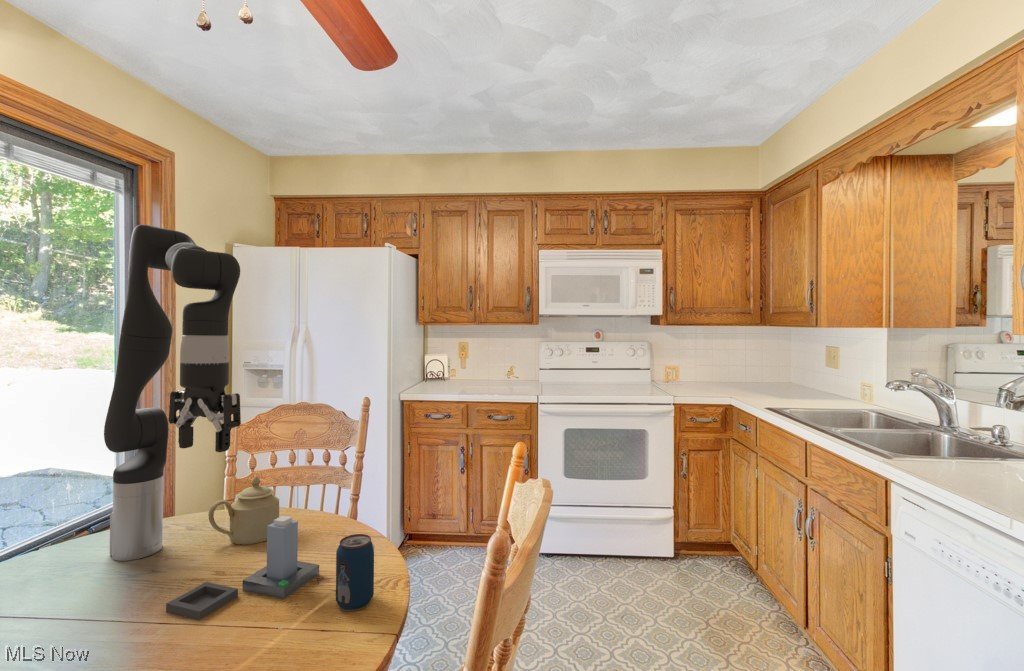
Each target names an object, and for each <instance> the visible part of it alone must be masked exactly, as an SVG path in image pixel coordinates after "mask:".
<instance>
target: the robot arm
mask: <svg viewBox="0 0 1024 671" xmlns="http://www.w3.org/2000/svg"><path fill="white" fill-rule="evenodd" d="M129 242H130V243H129V253H128V274H127V275H128V276H127V289H126V300H125V305H124V310H123V317H122V322H121V329H120V336H119V342H118V352H117V353H118V354H117V364H116V370H115V371H116V373H115V375H114V376H115V378H114V383H113V388H112V392H111V397H110V401H109V404H108V409H107V413H106V417H105V422H104V429H103V439H104V444H105V446H106V448H107V449H108V450H109V451H110V452H112V453H118V454H119V453H125V452H130V451H136V450H138V451H137V452H136V453H135V454H134V455H133V456H132V457H131V458H130V459H128V460H127V461H125V462H123V463H122V464H119V465H118V466H116V468H115V469H114V470H113V472H112V473H113V474H112V512H111V513H110V515H109V555H110V556H111V558H112V560H114V561H119V562H120V561H121V562H122V561H123V562H124V561H133V560H139V559H143V558H147V557H149V556H151V555H154V554H156V553H158V552H159V551H160V550H162V548H163V534H164V533H163V531H164V530H163V528H164V527H163V526H164V525H163V524H164V521H163V520H164V513H163V512H164V470H165V469H164V468H165V466H166V465H167V464H166V463H167V455H168V454H167V453H168V443H169V431H170V430H169V425H172V424H174V425H175V426H176V428H178V438H177V439H178V441H177V442H178V446H179V447H178V448H180V449H188V448H191V447H193V446H194V426H193V425H194V423H195V421H196V419H198V418H199V417H202V418H207V420H208V422H210V423H212V425H213V426H214V428H215V429H216V431H215V442H214V443H215V446H214V447H215V448H214V450H215V452H216V453H222V452H227V451H228V450H229V448H230V447H231V430H232V429H233V428H238V427H240V426H241V424H242V423H241V417H242V416H241V398H240V397H241V395H240V393H238V392H236V393H229V394H226V391H225V389H226V386H228V385H229V384H230V342H229V315H230V309H231V308H230V307H231V304H232V302H233V297H234V294H235V291H236V289H237V286H238V283H239V280H240V277H241V266H240V263H239V261H238V259H237V258H236V257H235V256H234V255H232V254H231V253H227V252H219V251H211V250H206V249H205V248H203V247H201V246H199V245H197V244H196V242H195V241H194V240H193V238H192V237H191V236H189V235H188V234H186V233H184V232H182V231H178V230H173V229H169V228H164V227H159V226H153V225H148V224H137V225H136V226H135V227H134V229H133V230H132V233H131V238H130V241H129ZM149 269H156V270H163V271H171V277H172V279H173V282H174V283H175V284H176V285H178V286H179V287H182V288H185V289H193V290H194V289H195V290H206V291H207V290H209V291H214V294H213V296H212V297H211V298H210V299H209V300H208V299H207V300H204V301H196V302H189V303H187V304H185V305H184V306H183V309H182V323H181V324H182V334H181V335H182V337H181V343H180V348H179V349H180V353H179V357H180V358H179V386H180V387H181V388H184V390H182V389H181V390H175V391H170V395H169V407H168V408H169V409H168V417H167V414H166V413H165V411H164V410H163V409H162V408H160V407H156V406H155V407H145V408H137V406H138V402H139V400H140V397H141V394H142V392H143V390H144V389H145V387H146V386H148V384H149V383H150V382H151V380H152V378H154V376H155V375H156V374H157V373H158V372H159V371H160V370H161V368H162V367H163V366H164V364H165V363H166V361H167V360H168V358H169V355H170V351H171V344H172V336H173V327H172V326H173V325H172V324H171V321H170V319H169V317H168V316H167V313H166V312H165V311H164V309H163V307H162V306H161V305H160V303H159V301H158V299H157V298H156V296H155V293H154V291H153V290H152V286H151V283H150V281H149V280H150V279H149V272H148V271H149ZM177 411H178V415H177ZM232 419H233V420H232Z"/></svg>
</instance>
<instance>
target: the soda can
mask: <svg viewBox="0 0 1024 671" xmlns="http://www.w3.org/2000/svg"><path fill="white" fill-rule="evenodd" d="M335 552H336V555H335V556H336V557H335V558H336V559H335V602H336V603H337V605H338V607H339V608H340V609H341V610H342V611H346V612H356V611H359V610H362V609H364V608H366V607H367V606H368V605H369V604H370V602H371V601H372V599H373V597H374V594H375V592H374V591H375V588H374V587H375V578H374V576H375V546H374V544H373V541H372V537H371V536H370V535H368V534H364V533H357V534H350V535H347V536H345V537H342V538H341V539H340V540H339V545H338V547H337V549H336V551H335Z"/></svg>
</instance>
